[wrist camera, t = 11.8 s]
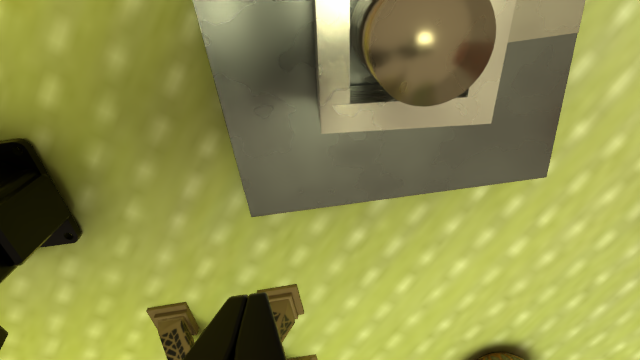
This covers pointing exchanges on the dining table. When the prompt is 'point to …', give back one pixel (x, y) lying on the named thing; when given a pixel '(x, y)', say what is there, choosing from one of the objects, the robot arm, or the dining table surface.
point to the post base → (366, 157)
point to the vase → (500, 356)
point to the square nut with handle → (372, 100)
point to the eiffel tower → (181, 325)
